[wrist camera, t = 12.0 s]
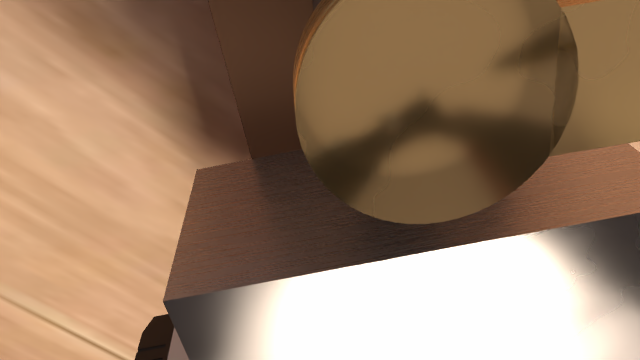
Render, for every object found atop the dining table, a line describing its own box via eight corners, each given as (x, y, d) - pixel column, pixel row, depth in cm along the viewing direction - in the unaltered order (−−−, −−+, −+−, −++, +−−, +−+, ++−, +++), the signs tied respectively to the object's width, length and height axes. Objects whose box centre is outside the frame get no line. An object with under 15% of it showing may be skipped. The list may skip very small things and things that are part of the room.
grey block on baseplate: (258, 347, 18) (252, 501, 13) (197, 169, 14) (163, 301, 10) (555, 293, 17) (647, 432, 13) (569, 97, 14) (702, 201, 10)
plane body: (471, 251, 22) (588, 479, 14) (302, 282, 22) (318, 526, 14) (452, -268, 13) (734, -482, 5) (175, -209, 14) (21, -325, 5)
